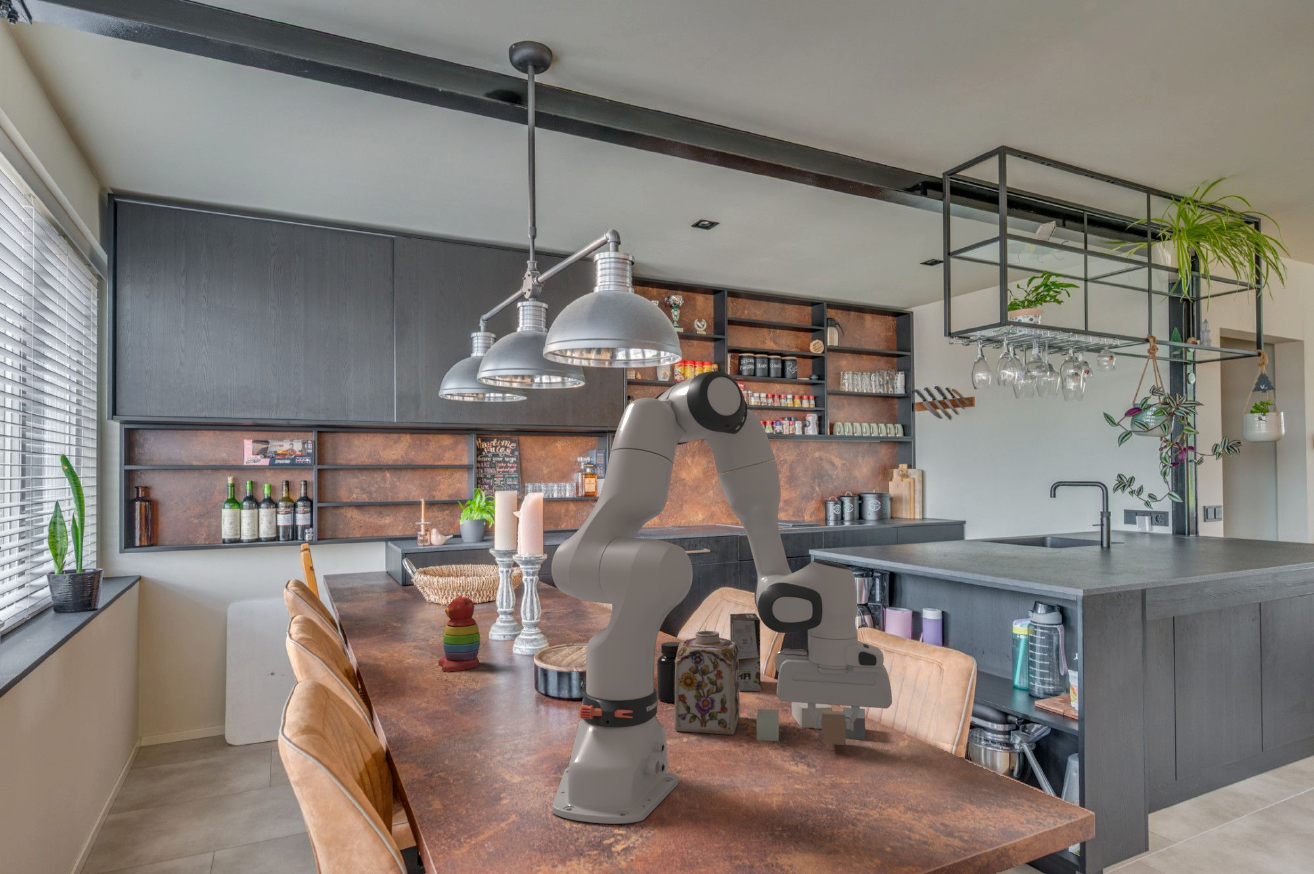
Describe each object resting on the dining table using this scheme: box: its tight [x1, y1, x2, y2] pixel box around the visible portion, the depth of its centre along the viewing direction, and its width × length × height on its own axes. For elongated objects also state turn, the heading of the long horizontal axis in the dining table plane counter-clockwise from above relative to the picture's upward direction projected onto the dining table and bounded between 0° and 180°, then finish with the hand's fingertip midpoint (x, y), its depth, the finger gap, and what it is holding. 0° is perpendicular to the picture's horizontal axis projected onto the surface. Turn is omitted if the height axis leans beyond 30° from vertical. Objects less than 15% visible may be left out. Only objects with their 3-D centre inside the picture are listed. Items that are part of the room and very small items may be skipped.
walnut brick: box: [821, 710, 847, 746], centre depth 134 cm, size 6×4×4 cm, turn 167°
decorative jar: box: [674, 630, 741, 736], centre depth 148 cm, size 12×12×18 cm
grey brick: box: [842, 706, 866, 741], centre depth 141 cm, size 6×4×4 cm, turn 164°
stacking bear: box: [437, 595, 481, 673], centre depth 194 cm, size 11×10×18 cm
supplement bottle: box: [656, 641, 681, 704], centre depth 164 cm, size 7×7×12 cm
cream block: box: [791, 702, 833, 729], centre depth 149 cm, size 8×6×4 cm
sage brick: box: [756, 708, 780, 742], centre depth 141 cm, size 6×4×4 cm, turn 170°
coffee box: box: [729, 612, 761, 692], centre depth 174 cm, size 9×6×16 cm
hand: (833, 728), depth 134 cm, fingers closed on walnut brick, 4 cm apart
